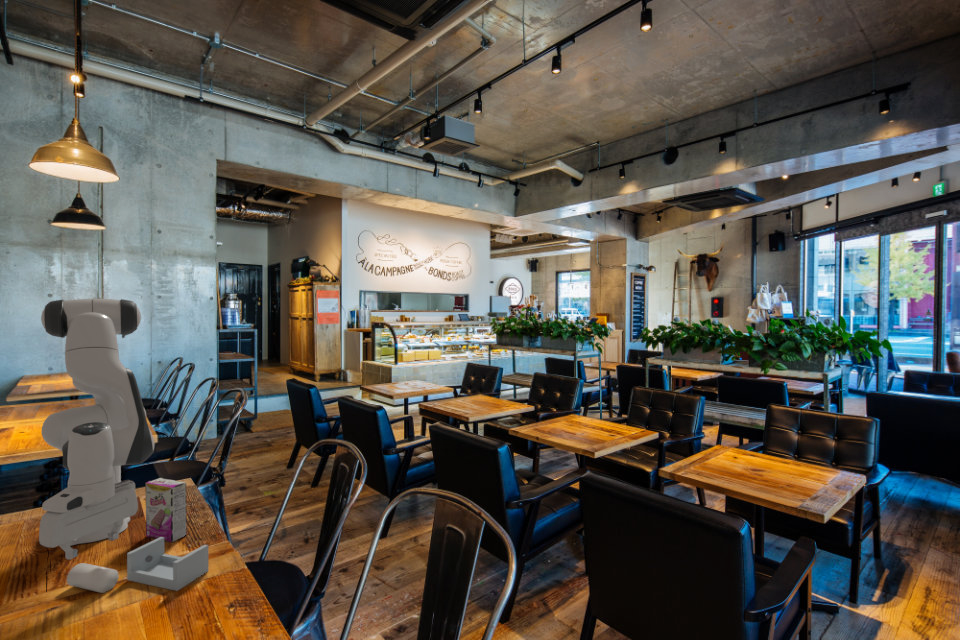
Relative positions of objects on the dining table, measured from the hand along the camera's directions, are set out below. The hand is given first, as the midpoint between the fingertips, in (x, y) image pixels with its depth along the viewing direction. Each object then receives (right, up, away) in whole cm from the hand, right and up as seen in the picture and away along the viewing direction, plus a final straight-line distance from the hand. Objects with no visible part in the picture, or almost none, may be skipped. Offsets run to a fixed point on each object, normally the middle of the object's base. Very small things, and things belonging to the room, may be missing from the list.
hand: (93, 548), depth 114 cm
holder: (+15, -10, +5) cm, 18 cm away
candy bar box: (0, -10, +26) cm, 28 cm away
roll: (0, -10, 0) cm, 10 cm away
